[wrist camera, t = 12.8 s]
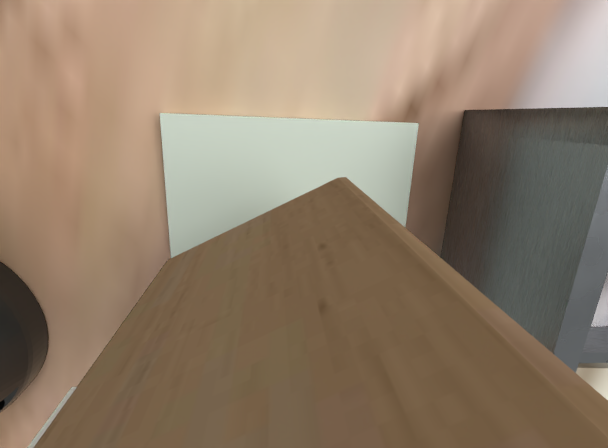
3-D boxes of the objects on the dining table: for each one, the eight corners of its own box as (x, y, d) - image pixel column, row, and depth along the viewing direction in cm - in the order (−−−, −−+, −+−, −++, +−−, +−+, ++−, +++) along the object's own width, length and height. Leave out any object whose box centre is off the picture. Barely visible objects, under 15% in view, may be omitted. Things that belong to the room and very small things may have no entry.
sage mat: (182, 344, 29) (178, 353, 28) (165, 113, 24) (159, 113, 22) (385, 340, 30) (389, 349, 29) (412, 122, 25) (418, 123, 24)
